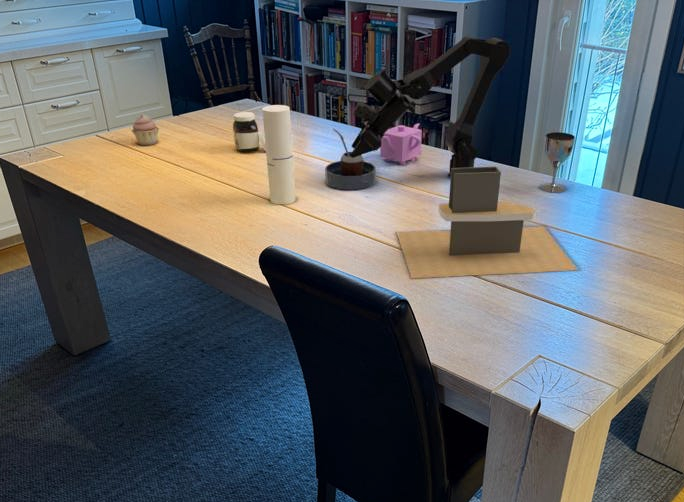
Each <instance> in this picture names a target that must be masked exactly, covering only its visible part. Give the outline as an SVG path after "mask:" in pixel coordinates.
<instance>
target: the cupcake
mask: <svg viewBox="0 0 684 502" xmlns="http://www.w3.org/2000/svg"><path fill="white" fill-rule="evenodd" d="M159 130H160V129H159V127H158V126H157V124H156V122H155V121H154V120H153V119H151V118H150V117H149V116H148V115H146V114H143V113H140V117H138V118H137V119H136V120H135V121H134V123H133V124H132V129H131V132H132V134H133V135H134V136H135V139H136V141H137V144H138V145H140V146H152V145H156V144H157V143H158V137H159Z"/></svg>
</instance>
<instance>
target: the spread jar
mask: <svg viewBox="0 0 684 502" xmlns="http://www.w3.org/2000/svg"><path fill="white" fill-rule="evenodd" d="M233 120H234V121H233V123H232V134H233V141H234V146H235V150H236V151H237V152H239V153H244V154H250V153H254V152H257V151H258V150H260V145H261V147H262V148H263V150H264V151H265V152H266V145H265V134H264V129H261V130H259V127H258V124H257V121H256V119H255V113H253V112H250V111H241V112H237V113H234V114H233Z"/></svg>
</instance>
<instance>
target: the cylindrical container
mask: <svg viewBox="0 0 684 502" xmlns="http://www.w3.org/2000/svg"><path fill="white" fill-rule="evenodd" d="M261 111H262V122H263V123H262V124H263V130H264V134H265V145H266V151H265V156H266V166H267V167H266V168H267V178H268V190H269V202H270V203H272V204H275V205H289V204H292V203H294V202H296V199H297V197H296V184H295V168H294V155H293V153H294V152H293V139H292V137H293V136H292V124H291V109H290V106H288V105H284V104H271V105H266V106H263V107H262V108H261Z"/></svg>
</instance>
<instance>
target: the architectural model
mask: <svg viewBox="0 0 684 502" xmlns="http://www.w3.org/2000/svg"><path fill="white" fill-rule="evenodd" d="M501 175H502V171H501V170H500V169H499V168H498V166H474V167H470V168H451V177H450V181H449V182H450V183H449V195H448V197H449V198H448V202H446V203H445V202H442V203H439V204H438V214H439V216H440V218H442V220H444V221H446V222H450V230H432V231H431V230H430V231H407V232H406V231H405V232H396V236H397V238H398V242H399V244H400V249H401V251H402V254H403V257H404V260H405V264H406V266H407V269H408V271H409V275H410V279H427V278H446V277H467V276H485V275H488V276H489V275H504V274H505V275H508V274H526V273H545V272H568V271H579V269H578V267H577V266H576V265H575V264H574V263H573V261H572V259H570V257H569V256H568V255H567V254H566V252H565V251H564V249H562V247H561V246H560V245H559V244H558V242H557V241H556V240H555V239H554V237H553V236H552V235H551V234H550V232H549V231H548V230H547V228H546V227H545V226H544V225H543V226H542V225H541V226H524V222H525V221H532V220H535V219H536V213H537V212H536V210H535V209H534V207H532V206H527V205H523V204H517V203H512V202H507V201H499V194H500V185H501Z"/></svg>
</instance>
